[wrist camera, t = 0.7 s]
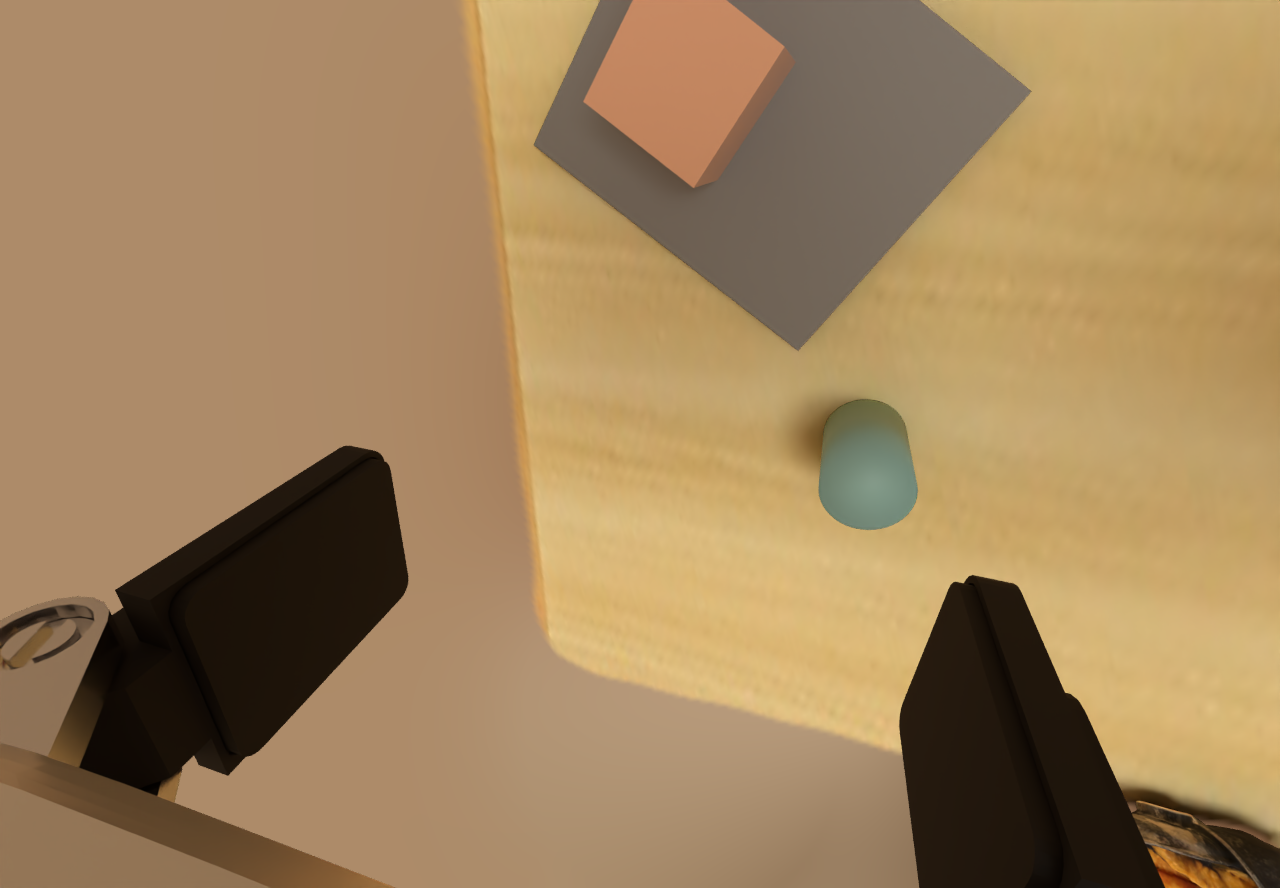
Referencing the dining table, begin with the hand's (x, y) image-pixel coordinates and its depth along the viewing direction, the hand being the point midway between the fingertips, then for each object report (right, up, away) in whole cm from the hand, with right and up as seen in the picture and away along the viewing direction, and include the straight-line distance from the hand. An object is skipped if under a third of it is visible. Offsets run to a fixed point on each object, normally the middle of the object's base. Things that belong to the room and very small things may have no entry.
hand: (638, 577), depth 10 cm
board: (+6, +20, +22) cm, 30 cm away
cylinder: (+14, +3, +28) cm, 32 cm away
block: (+3, +21, +21) cm, 30 cm away
